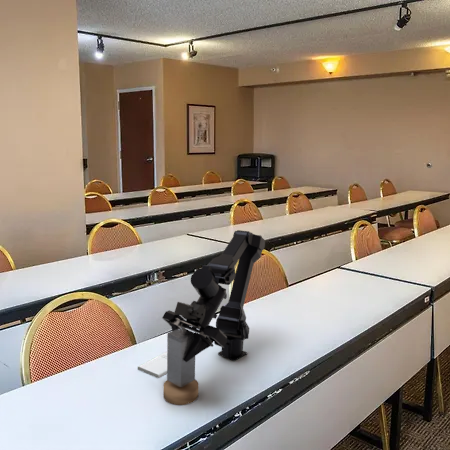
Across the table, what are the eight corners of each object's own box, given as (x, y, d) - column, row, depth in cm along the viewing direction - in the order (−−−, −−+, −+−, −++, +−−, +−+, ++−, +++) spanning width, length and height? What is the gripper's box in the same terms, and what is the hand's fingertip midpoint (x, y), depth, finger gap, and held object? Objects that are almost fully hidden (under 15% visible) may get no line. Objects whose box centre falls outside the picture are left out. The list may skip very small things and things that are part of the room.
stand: (181, 382, 137) (181, 372, 137) (205, 394, 132) (205, 384, 131) (156, 395, 131) (156, 385, 130) (180, 409, 125) (181, 398, 124)
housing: (181, 372, 134) (181, 327, 131) (194, 379, 131) (195, 333, 128) (167, 380, 130) (167, 333, 127) (180, 387, 127) (181, 339, 124)
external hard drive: (137, 371, 144) (166, 355, 154) (158, 380, 140) (187, 363, 150) (137, 366, 144) (166, 350, 154) (158, 374, 139) (187, 358, 149)
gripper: (167, 281, 134) (135, 333, 128) (220, 298, 122) (188, 356, 117) (187, 301, 142) (158, 351, 136) (240, 319, 130) (210, 375, 124)
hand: (177, 357), depth 128 cm, fingers closed on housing, 5 cm apart
